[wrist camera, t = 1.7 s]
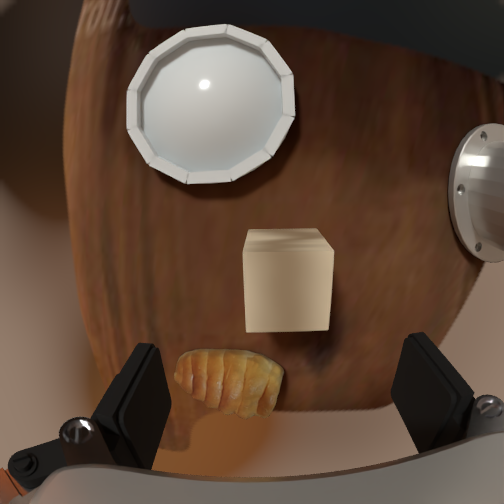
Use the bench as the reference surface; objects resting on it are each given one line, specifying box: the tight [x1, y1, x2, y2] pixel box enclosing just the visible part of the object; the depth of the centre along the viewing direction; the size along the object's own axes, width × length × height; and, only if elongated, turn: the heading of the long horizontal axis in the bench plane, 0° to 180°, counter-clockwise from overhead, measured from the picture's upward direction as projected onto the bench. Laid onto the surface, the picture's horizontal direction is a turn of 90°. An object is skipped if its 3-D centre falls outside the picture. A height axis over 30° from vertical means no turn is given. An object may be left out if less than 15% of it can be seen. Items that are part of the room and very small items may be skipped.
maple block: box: [243, 229, 334, 332], centre depth 20 cm, size 5×5×6 cm
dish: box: [127, 24, 295, 184], centre depth 19 cm, size 12×12×1 cm
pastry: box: [174, 349, 284, 419], centre depth 24 cm, size 9×7×4 cm
